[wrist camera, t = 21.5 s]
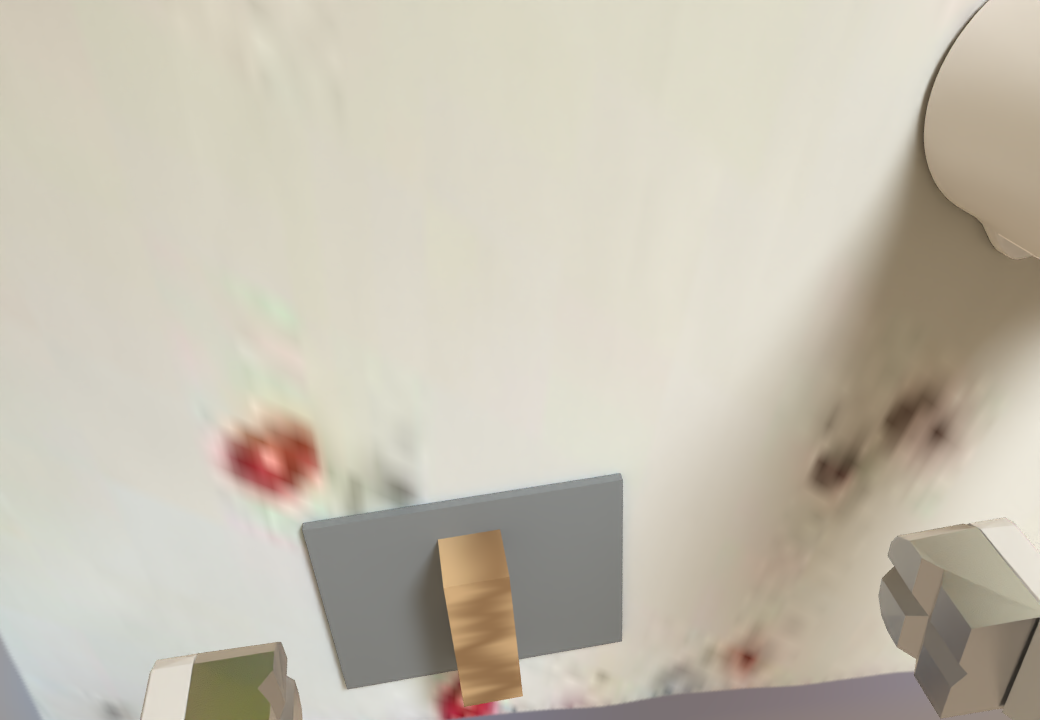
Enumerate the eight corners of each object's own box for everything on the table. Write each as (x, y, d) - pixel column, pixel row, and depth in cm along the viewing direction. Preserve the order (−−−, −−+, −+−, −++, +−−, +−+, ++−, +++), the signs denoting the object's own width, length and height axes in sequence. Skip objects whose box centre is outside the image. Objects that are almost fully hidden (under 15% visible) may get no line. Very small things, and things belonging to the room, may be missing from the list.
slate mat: (620, 473, 58) (622, 479, 57) (619, 634, 67) (621, 641, 67) (302, 523, 56) (302, 530, 55) (347, 682, 65) (347, 689, 65)
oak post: (464, 706, 61) (443, 588, 55) (458, 657, 65) (437, 539, 58) (522, 696, 62) (509, 576, 55) (513, 647, 65) (500, 529, 58)
